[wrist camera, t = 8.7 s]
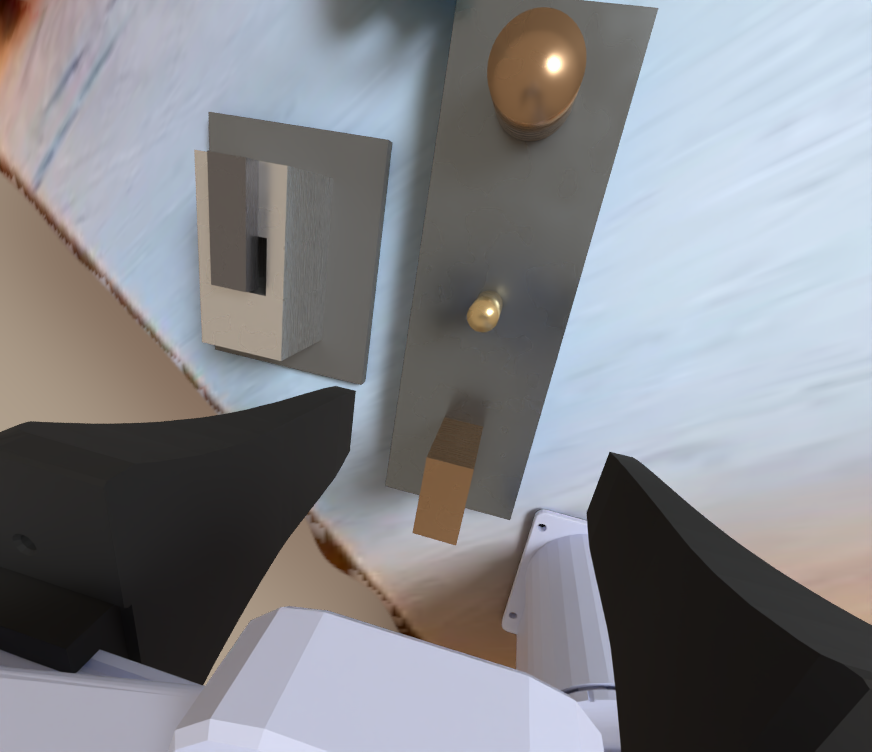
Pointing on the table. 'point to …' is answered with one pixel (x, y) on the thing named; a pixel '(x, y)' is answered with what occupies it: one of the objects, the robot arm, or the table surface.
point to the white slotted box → (261, 254)
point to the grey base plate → (506, 240)
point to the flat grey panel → (348, 234)
